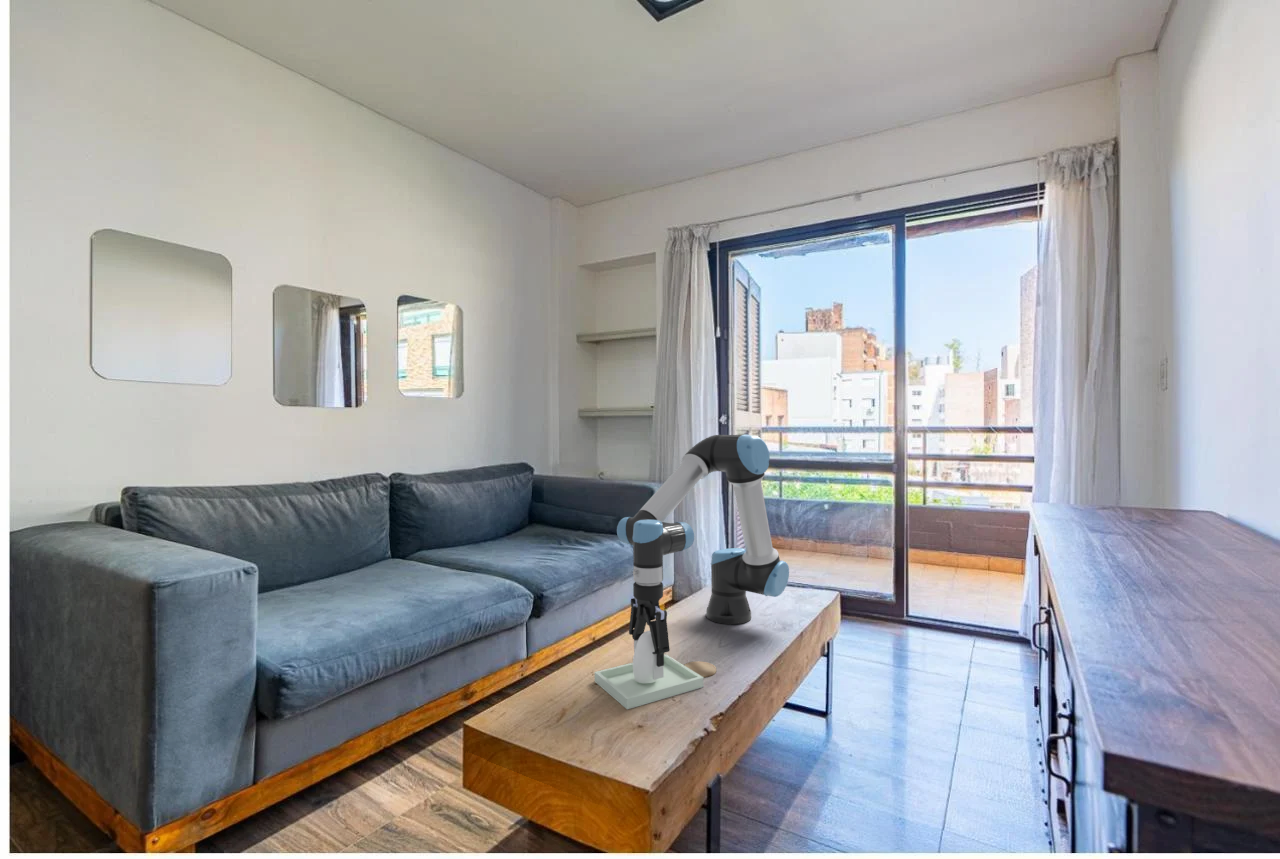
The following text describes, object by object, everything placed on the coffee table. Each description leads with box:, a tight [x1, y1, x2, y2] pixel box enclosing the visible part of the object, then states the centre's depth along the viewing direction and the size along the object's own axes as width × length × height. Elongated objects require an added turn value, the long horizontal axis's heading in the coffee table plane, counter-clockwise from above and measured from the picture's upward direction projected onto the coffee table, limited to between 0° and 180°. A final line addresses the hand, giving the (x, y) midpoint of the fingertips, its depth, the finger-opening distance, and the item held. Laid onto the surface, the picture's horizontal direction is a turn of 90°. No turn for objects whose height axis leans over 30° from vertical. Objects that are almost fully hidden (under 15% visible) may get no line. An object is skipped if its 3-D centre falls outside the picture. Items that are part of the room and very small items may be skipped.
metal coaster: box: [683, 660, 717, 678], centre depth 152 cm, size 9×9×1 cm
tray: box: [594, 653, 705, 710], centre depth 144 cm, size 22×17×2 cm
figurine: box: [632, 630, 658, 683], centre depth 144 cm, size 7×8×12 cm
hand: (648, 671), depth 144 cm, fingers open, 8 cm apart
